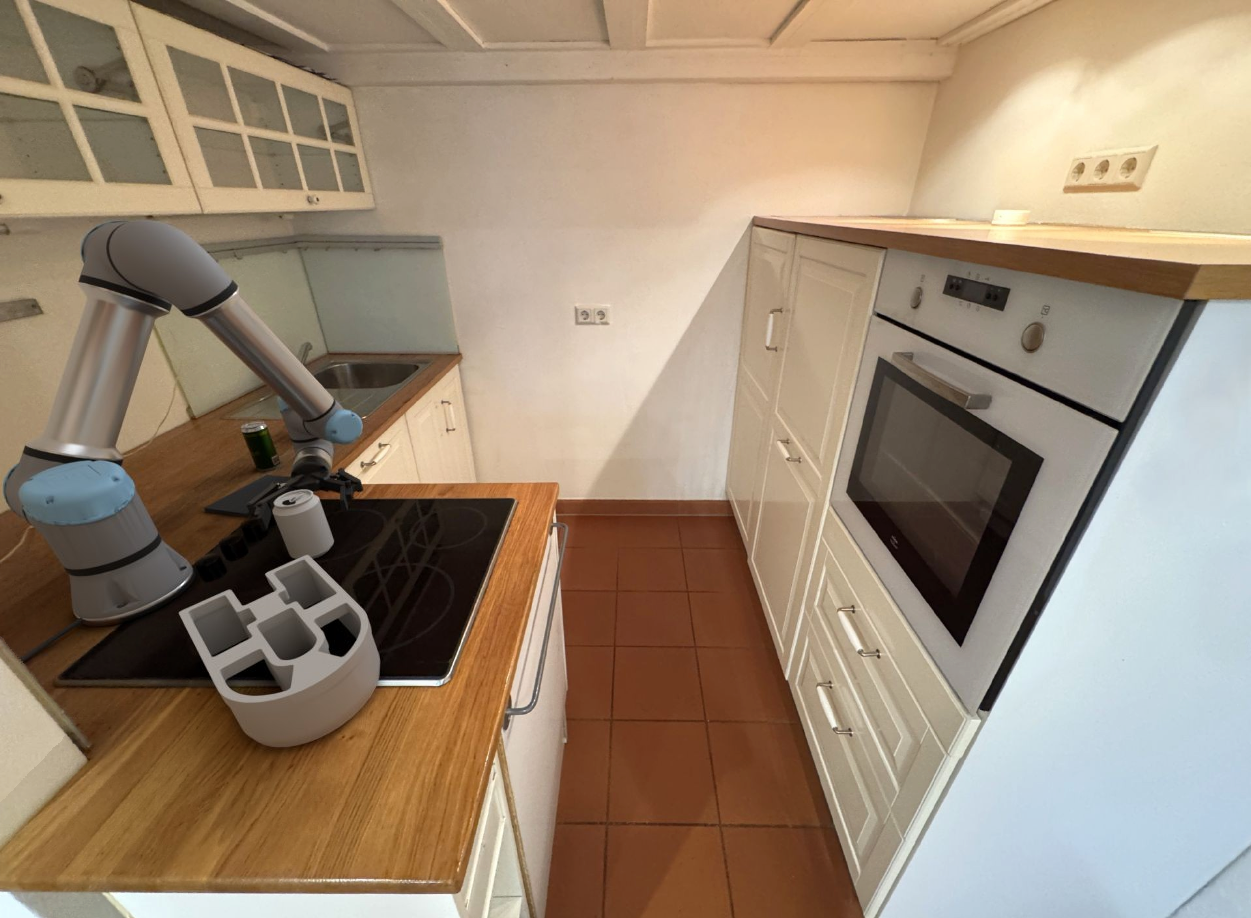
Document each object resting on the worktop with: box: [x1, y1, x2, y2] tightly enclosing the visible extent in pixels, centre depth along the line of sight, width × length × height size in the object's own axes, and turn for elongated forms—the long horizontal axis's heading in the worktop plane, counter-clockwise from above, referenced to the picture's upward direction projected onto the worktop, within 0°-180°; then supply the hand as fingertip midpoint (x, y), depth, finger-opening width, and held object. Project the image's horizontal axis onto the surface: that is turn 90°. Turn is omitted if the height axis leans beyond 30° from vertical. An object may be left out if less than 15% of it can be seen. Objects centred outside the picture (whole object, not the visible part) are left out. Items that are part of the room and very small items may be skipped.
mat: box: [203, 474, 290, 518], centre depth 116 cm, size 16×12×1 cm
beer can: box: [240, 420, 281, 473], centre depth 127 cm, size 5×5×12 cm
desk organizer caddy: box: [178, 555, 381, 748], centre depth 68 cm, size 17×28×9 cm, turn 50°
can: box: [271, 490, 335, 560], centre depth 93 cm, size 8×8×12 cm
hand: (303, 515), depth 95 cm, fingers open, 13 cm apart
